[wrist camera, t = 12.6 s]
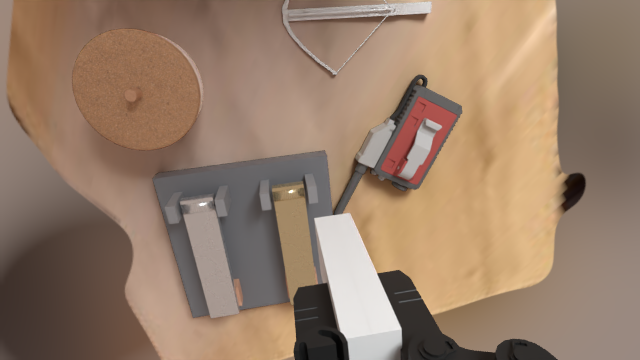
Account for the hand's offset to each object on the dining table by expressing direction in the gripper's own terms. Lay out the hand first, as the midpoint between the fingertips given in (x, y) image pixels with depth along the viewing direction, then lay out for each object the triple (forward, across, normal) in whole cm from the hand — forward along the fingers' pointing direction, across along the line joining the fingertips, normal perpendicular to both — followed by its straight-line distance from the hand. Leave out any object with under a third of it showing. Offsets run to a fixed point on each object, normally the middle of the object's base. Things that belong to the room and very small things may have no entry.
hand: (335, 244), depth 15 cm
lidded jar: (+30, -14, +5) cm, 33 cm away
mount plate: (+29, -7, -15) cm, 34 cm away
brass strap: (+26, -2, -15) cm, 30 cm away
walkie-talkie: (+30, +12, -7) cm, 33 cm away
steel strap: (+26, -12, -15) cm, 32 cm away
